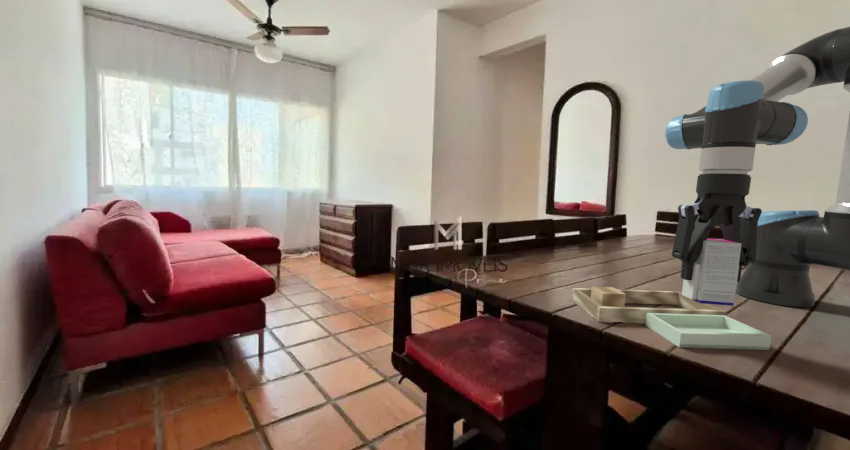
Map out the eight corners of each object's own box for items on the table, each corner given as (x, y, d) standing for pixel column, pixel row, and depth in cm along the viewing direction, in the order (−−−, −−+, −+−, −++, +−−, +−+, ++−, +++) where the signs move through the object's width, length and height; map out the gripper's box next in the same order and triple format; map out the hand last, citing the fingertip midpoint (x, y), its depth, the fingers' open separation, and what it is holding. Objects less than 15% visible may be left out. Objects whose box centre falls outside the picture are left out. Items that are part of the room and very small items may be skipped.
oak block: (611, 308, 85) (613, 287, 84) (623, 316, 80) (625, 294, 79) (589, 308, 85) (591, 286, 84) (600, 316, 80) (602, 293, 79)
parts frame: (677, 303, 90) (679, 291, 90) (724, 325, 76) (726, 311, 76) (571, 300, 90) (572, 288, 89) (598, 322, 76) (599, 307, 75)
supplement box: (735, 306, 66) (743, 242, 64) (698, 303, 67) (704, 241, 65) (716, 296, 71) (723, 238, 70) (682, 294, 72) (688, 236, 71)
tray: (723, 327, 75) (725, 315, 75) (769, 350, 65) (771, 335, 65) (645, 325, 75) (646, 312, 74) (679, 347, 65) (680, 333, 65)
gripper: (758, 175, 70) (741, 293, 73) (657, 171, 70) (644, 289, 73) (798, 174, 63) (777, 306, 65) (685, 170, 62) (669, 302, 65)
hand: (707, 297), depth 69 cm, fingers closed on supplement box, 6 cm apart
